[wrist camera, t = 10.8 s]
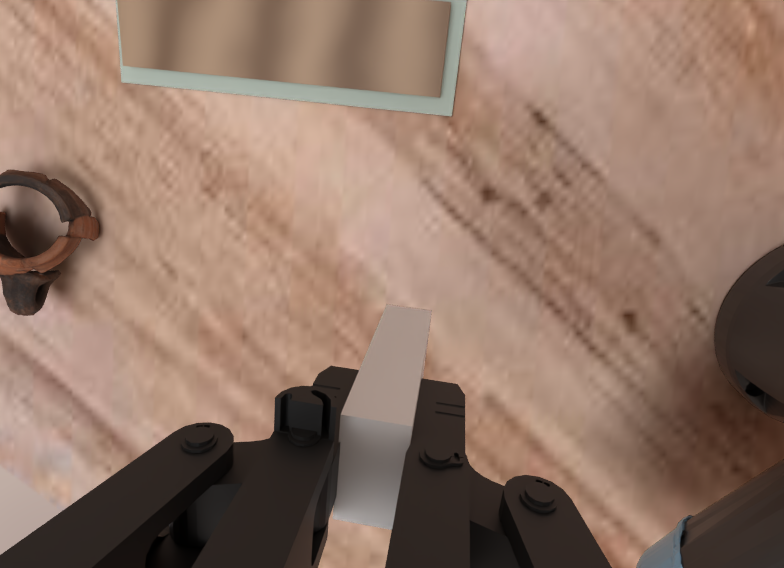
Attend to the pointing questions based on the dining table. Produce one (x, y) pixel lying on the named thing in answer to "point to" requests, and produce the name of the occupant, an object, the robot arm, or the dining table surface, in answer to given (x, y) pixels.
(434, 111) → the underlay mat
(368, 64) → the plank
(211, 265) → the dining table surface
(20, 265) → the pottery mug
